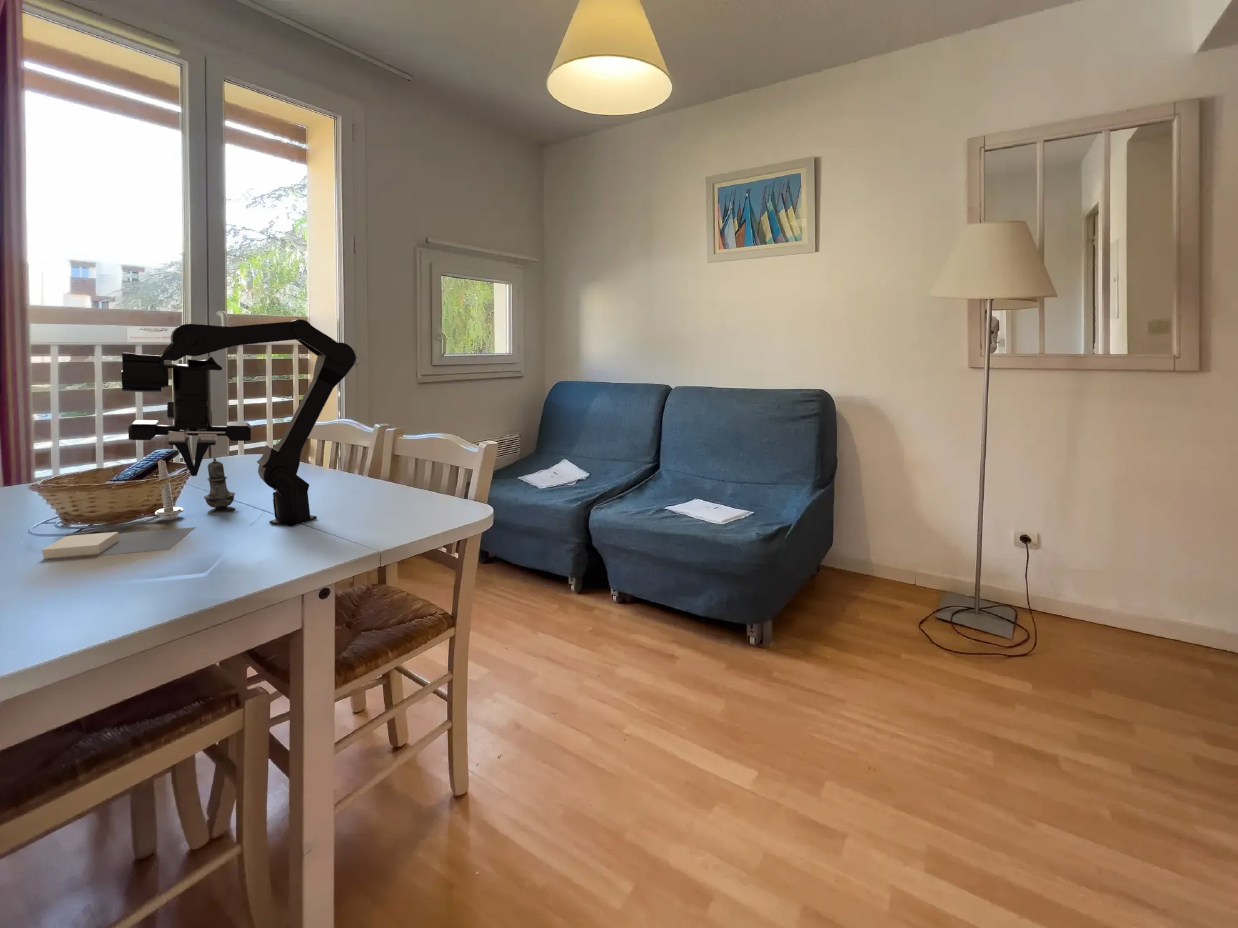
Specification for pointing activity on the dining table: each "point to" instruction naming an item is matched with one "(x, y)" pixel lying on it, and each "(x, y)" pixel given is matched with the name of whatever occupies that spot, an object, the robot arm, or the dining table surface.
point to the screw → (167, 496)
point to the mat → (142, 542)
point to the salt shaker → (218, 489)
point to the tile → (81, 545)
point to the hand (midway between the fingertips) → (194, 475)
